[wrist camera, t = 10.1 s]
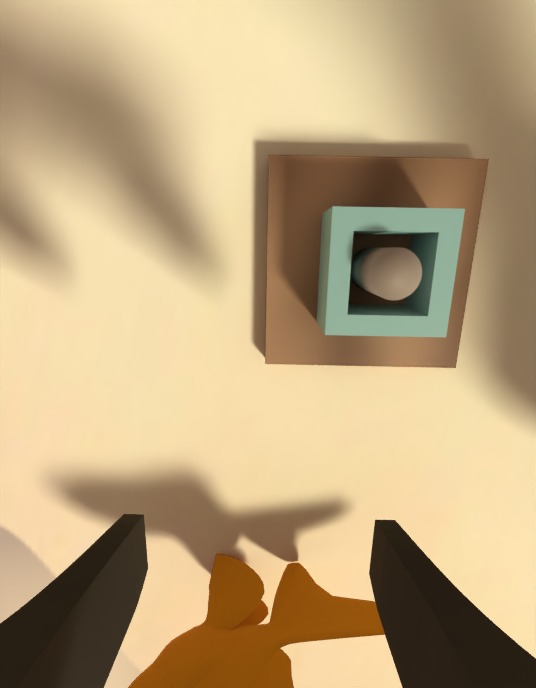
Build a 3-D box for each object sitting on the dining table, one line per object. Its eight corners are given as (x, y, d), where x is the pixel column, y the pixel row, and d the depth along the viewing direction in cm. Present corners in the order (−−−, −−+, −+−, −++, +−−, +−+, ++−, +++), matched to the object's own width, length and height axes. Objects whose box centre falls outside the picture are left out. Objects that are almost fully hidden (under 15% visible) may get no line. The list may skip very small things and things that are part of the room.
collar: (432, 215, 17) (464, 208, 14) (418, 323, 18) (446, 337, 16) (322, 213, 17) (332, 206, 14) (316, 321, 18) (325, 335, 16)
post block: (476, 163, 17) (554, 131, 13) (446, 362, 20) (502, 398, 15) (269, 160, 18) (268, 126, 13) (265, 358, 20) (263, 393, 15)
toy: (94, 611, 21) (91, 866, 12) (325, 502, 27) (440, 618, 18) (105, 645, 21) (111, 912, 12) (328, 532, 27) (440, 658, 18)
